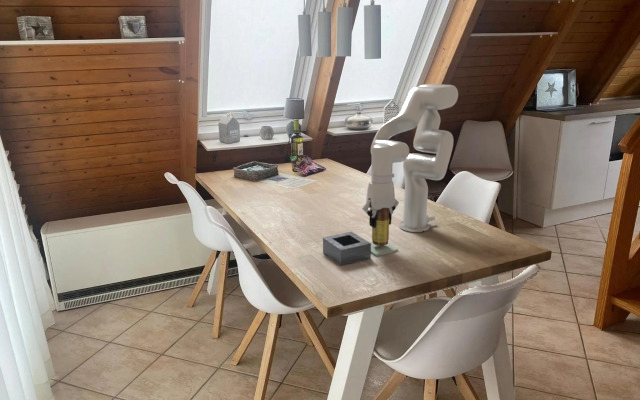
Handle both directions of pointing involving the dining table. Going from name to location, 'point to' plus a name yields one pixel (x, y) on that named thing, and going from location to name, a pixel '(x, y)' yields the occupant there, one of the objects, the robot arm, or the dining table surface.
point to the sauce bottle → (381, 228)
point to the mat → (382, 249)
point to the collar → (346, 248)
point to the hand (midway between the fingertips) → (380, 224)
